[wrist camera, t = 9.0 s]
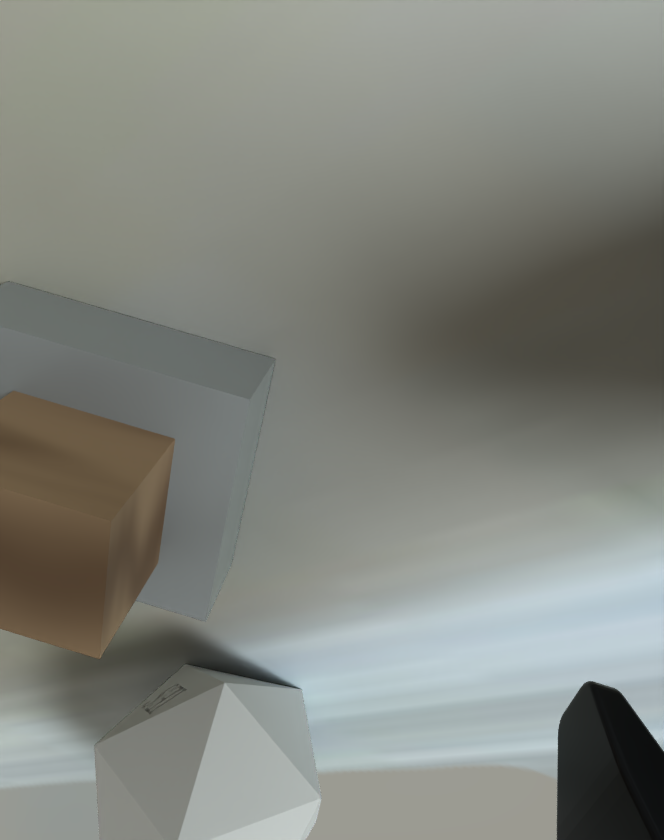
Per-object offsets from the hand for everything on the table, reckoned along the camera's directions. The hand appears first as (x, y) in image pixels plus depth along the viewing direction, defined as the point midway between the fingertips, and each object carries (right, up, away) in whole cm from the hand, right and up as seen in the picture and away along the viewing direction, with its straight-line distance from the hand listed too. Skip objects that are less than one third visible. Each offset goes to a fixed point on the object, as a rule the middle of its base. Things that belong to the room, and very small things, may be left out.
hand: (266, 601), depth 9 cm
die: (-3, -10, +19) cm, 22 cm away
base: (-6, +2, +13) cm, 15 cm away
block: (-7, +1, +11) cm, 13 cm away
